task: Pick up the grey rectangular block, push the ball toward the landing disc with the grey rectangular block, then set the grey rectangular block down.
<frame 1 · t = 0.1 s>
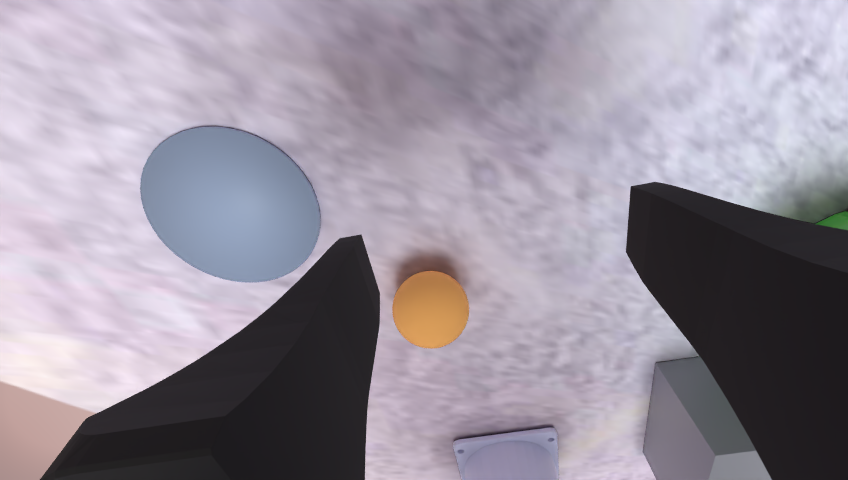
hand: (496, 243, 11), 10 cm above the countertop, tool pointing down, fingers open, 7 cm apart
grey rectangular block: (690, 405, 31), on the countertop
landing disc: (234, 211, 22), on the countertop
fruit basket: (799, 253, 24), on the countertop
ball: (430, 308, 23), on the countertop
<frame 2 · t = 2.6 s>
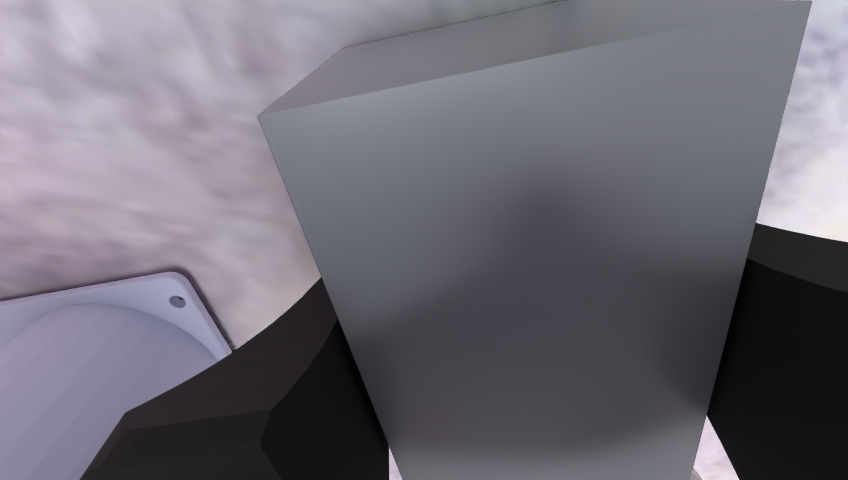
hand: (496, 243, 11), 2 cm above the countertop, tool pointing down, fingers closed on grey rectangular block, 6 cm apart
grey rectangular block: (485, 211, 13), on the countertop, touching gripper
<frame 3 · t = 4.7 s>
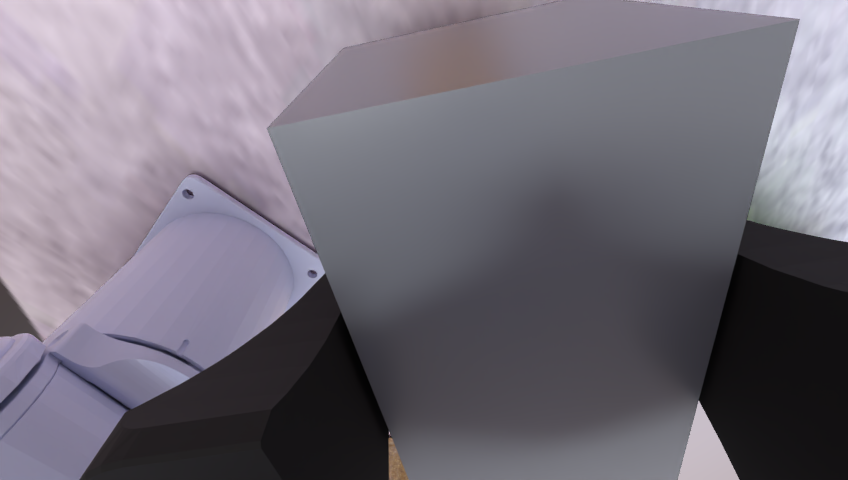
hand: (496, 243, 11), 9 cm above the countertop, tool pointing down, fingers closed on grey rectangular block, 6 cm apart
sprinkles bottle: (398, 449, 32), on the countertop
grey rectangular block: (484, 207, 13), point 7 cm above the countertop, touching gripper
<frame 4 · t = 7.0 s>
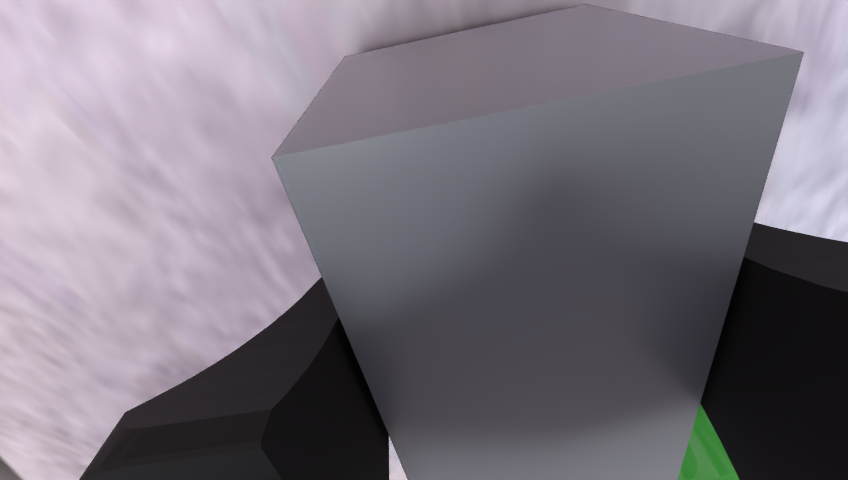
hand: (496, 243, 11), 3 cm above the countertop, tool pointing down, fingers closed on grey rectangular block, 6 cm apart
grey rectangular block: (485, 213, 13), point 1 cm above the countertop, touching gripper
fruit basket: (730, 434, 22), on the countertop
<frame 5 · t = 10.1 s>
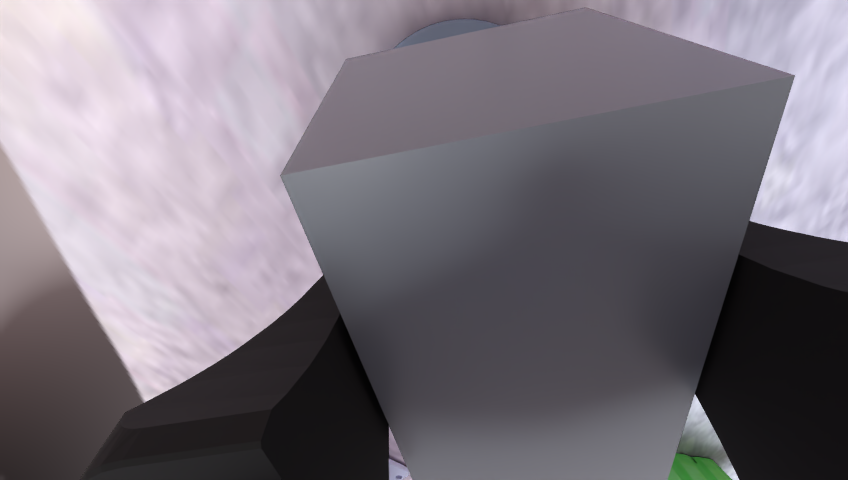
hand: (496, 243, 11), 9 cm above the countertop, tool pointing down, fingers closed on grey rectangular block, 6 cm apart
grey rectangular block: (485, 213, 13), point 7 cm above the countertop, touching gripper
landing disc: (459, 129, 19), on the countertop
fruit basket: (648, 461, 34), on the countertop
when the fingers open (2 cm above the countertop, at t = 13.1 s): grey rectangular block stays where it is, on the countertop.
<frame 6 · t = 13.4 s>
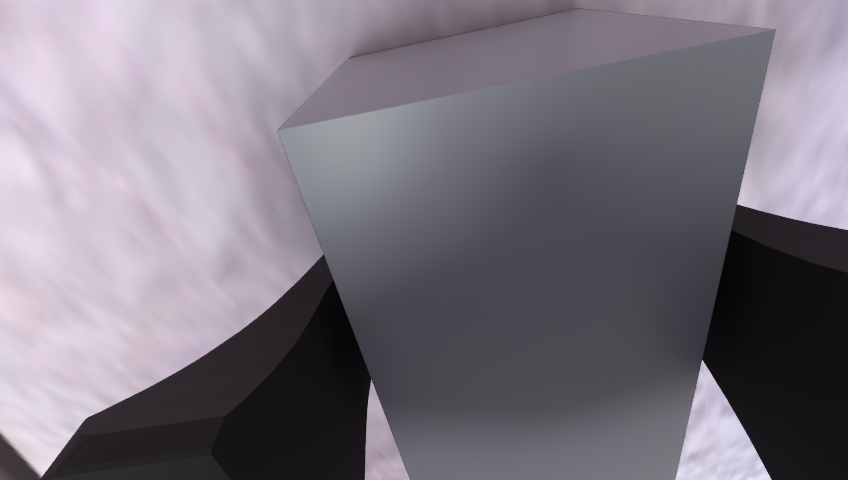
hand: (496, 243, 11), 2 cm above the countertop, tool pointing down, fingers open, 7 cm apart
grey rectangular block: (484, 213, 13), on the countertop
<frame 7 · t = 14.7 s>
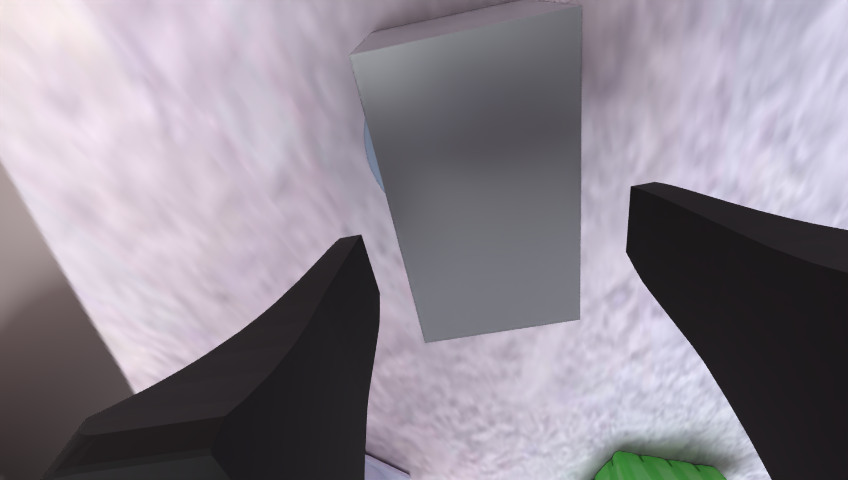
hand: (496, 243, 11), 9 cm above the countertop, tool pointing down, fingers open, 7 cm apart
grey rectangular block: (465, 145, 19), on the countertop
landing disc: (464, 139, 19), on the countertop
fruit basket: (651, 468, 34), on the countertop
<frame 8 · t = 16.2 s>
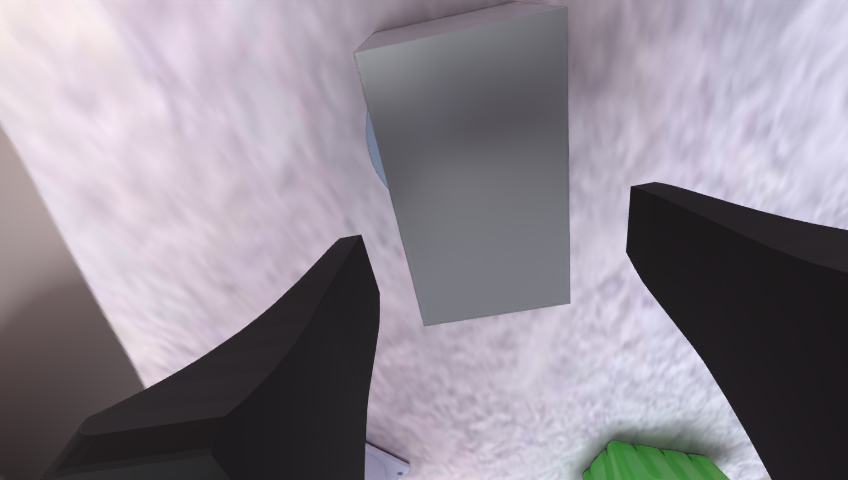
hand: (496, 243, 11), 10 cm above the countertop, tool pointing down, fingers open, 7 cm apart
grey rectangular block: (462, 140, 20), on the countertop
landing disc: (461, 134, 20), on the countertop
fruit basket: (645, 458, 34), on the countertop
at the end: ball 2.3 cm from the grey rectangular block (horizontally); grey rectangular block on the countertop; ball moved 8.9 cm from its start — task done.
